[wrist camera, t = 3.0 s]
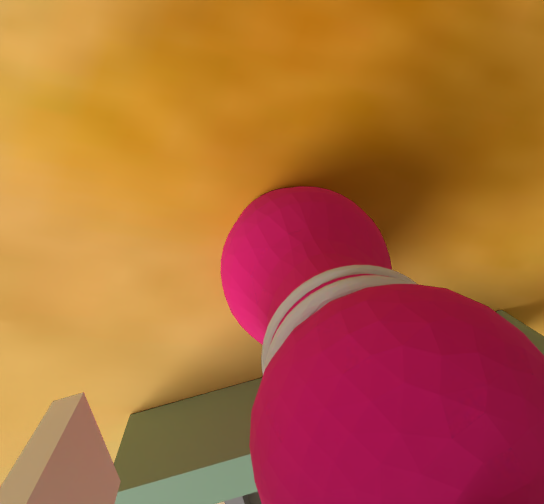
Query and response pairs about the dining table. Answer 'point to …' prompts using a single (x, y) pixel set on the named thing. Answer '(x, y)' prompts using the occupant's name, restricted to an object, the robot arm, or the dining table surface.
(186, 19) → the dining table surface
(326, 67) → the dining table surface
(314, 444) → the pepper mill
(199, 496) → the board
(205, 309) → the dining table surface
